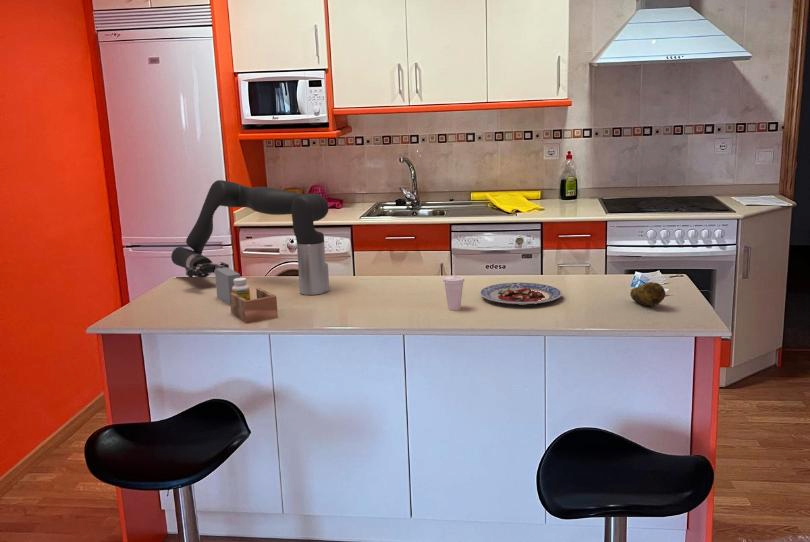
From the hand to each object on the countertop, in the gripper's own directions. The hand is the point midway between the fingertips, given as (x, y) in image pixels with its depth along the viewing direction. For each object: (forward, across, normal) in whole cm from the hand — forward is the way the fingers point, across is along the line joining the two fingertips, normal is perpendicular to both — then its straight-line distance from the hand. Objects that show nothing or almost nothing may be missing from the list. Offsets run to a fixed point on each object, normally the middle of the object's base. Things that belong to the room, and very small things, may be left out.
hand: (213, 273), depth 257 cm
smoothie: (+69, +52, +6) cm, 86 cm away
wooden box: (+36, 0, +6) cm, 37 cm away
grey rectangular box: (+14, 0, +7) cm, 16 cm away
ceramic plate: (+72, +76, +7) cm, 105 cm away
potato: (+103, +99, +6) cm, 143 cm away
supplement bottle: (+26, 0, +7) cm, 27 cm away
